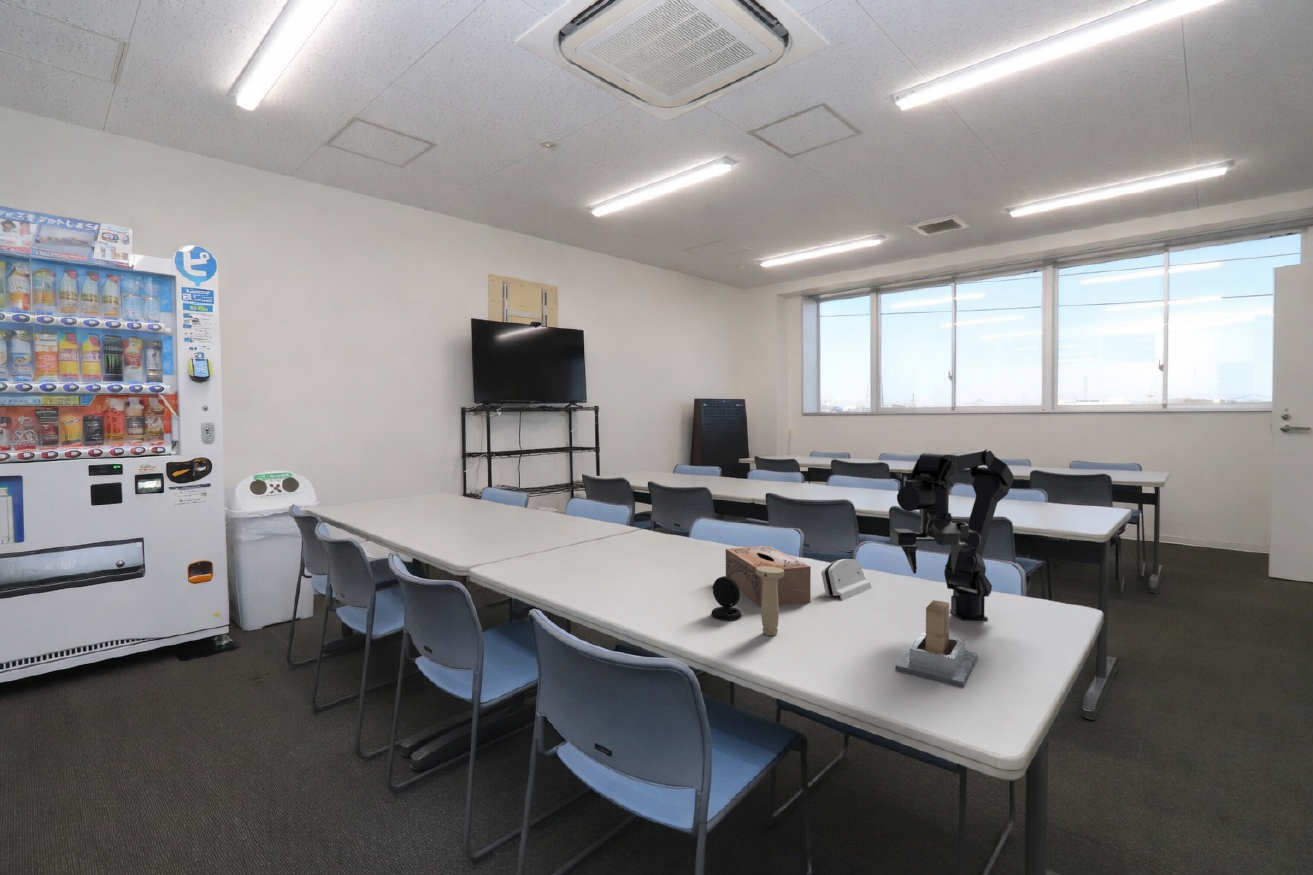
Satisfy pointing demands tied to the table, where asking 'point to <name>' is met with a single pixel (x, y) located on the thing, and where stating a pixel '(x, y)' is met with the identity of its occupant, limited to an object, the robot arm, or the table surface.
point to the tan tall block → (937, 627)
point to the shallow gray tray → (938, 662)
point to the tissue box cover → (747, 559)
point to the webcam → (726, 598)
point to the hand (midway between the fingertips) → (934, 573)
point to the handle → (770, 598)
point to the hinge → (844, 578)
